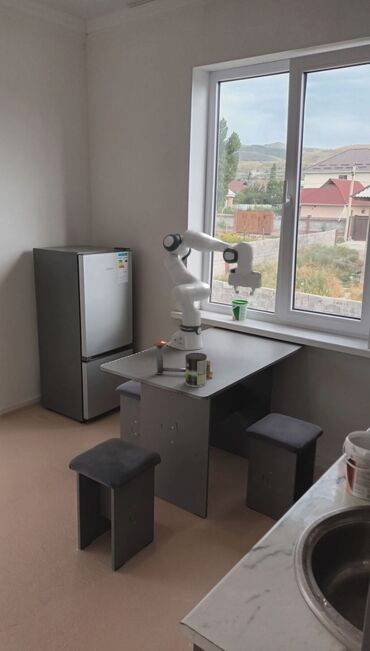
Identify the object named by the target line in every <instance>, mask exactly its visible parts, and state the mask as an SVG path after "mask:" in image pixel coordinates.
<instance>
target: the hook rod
mask: <svg viewBox="0 0 370 651" xmlns="http://www.w3.org/2000/svg"><path fill="white" fill-rule="evenodd" d="M152 342H153V343H152V344H153V346H156V374H157V373H160V374H159V375H162V374H161V373H163V374H164V372H165V373H166V372H168V373H169V372H170V373H186V367H184V368H182V367H181V368H180V367H164V346H167V341H166V340H164V339H156V340H153V341H152Z"/></svg>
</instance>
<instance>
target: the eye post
mask: <svg viewBox="0 0 370 651" xmlns="http://www.w3.org/2000/svg"><path fill="white" fill-rule="evenodd" d="M213 374H214V372H213V371H211V361H210V360H207V362H206V380H212V379H213Z"/></svg>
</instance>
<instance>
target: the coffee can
mask: <svg viewBox="0 0 370 651" xmlns="http://www.w3.org/2000/svg"><path fill="white" fill-rule="evenodd" d="M207 359H208V355H207V354H205V353H203V352H189V353H186V354H185V368H186V372H185V385H186V386H188V387H191V386H192V388H200V387H204V386H206V384H207V379H206V362H207V361H208V360H207Z"/></svg>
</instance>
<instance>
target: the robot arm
mask: <svg viewBox="0 0 370 651" xmlns="http://www.w3.org/2000/svg"><path fill="white" fill-rule="evenodd" d="M162 246H163V248H164V249H165V251H167V252H168V255H166V256H165V258H164V259H163V264H164V268H165V269H166V271H167V273H168V274H169V277H170V278H171V280H172V282H173V283H174V284H175V285H176V286H174V288H172V291H171V296H172V299H173V301H174V302H176V303H177V304H178V306H179V308H180V311H181V316H182V317H181V319H182V323H181V324H179V325H178V328H179V330H177V331H176V332H175V333H174V334H173V333H172V336H171V339H170V341H169V342H167V343H166V346H167V345H168V347H170V346H171V347H170V348H174V349H177V350H181V351H193V350H194V351H195V350H201V349H203V348H204V345H203V340H202V323H201V321H202V316H201V315H202V313H201V310H200V309H199V308H197V307H195V302H199V301H204V300H206V299H208V298H209V297H210V296H211V292H212V291H211V287H210V285H209V284H208V283H206V282H204V281H202V280H200V279H198V278H197V277H196V276H194V275H193V274H192V273H191V272H190V271H189V269H188V267H187V266H186V265H185V264H184V262H183V261H185V260H187V258H189V256H190V255H191V253H192V249H193V250H196V251H197V252H201V253H211V252H220V253H222V258H223V261H224V262H225V263H226V264H231V265H233V264H237V267H234V268H230V269H229V274H228V278H227V284H228V286H232V287H233V289H234V291H235V292H234V293H235V295H238V294H239V293H240V290H238V287H242V288H250V289H251V291H249V296H254V293H255V292H256V290H257V289H261V287H262V282H263V281H262V273H261V272H260V271H254V263H253V261H254V245H253V244H252V243H251V242H249V241H245V240H243V241H239V242H238V243H236V244H233V243H229V242H225V241H223V240H220V239H218V238H215V237H214V236H211V235H210V234H207V233H205V232H202V231H199V230H194V229H186V230H185V231H184V232H183V234H182V235H181V234H180V233H174V234H173V233H172V234H168V235H166V236H165V237H164V238H163V241H162Z"/></svg>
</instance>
